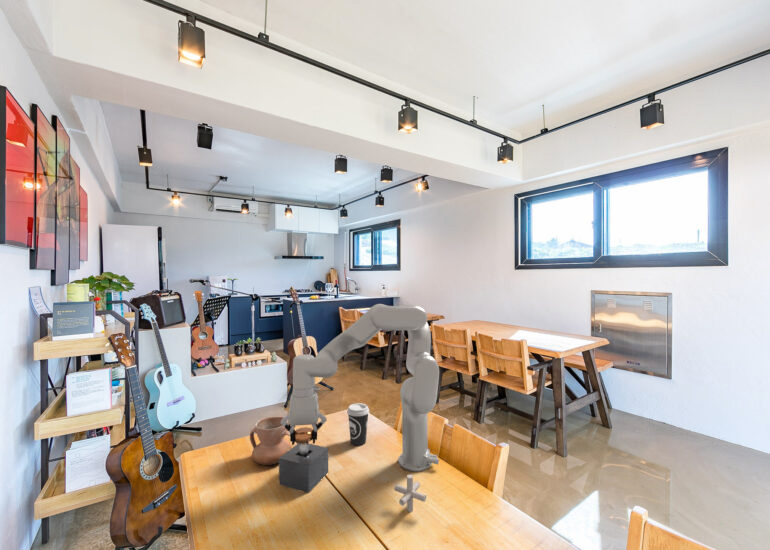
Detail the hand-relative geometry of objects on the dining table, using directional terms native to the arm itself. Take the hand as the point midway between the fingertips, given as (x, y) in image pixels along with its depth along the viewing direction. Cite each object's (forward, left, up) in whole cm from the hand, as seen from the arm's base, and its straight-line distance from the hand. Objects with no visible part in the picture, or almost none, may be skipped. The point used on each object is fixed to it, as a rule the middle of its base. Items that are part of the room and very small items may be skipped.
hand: (303, 441), depth 116 cm
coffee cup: (-6, -30, -13) cm, 33 cm away
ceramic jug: (+20, -6, -13) cm, 25 cm away
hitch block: (0, 0, -13) cm, 13 cm away
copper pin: (0, 0, -7) cm, 7 cm away
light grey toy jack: (-39, +1, -13) cm, 41 cm away
